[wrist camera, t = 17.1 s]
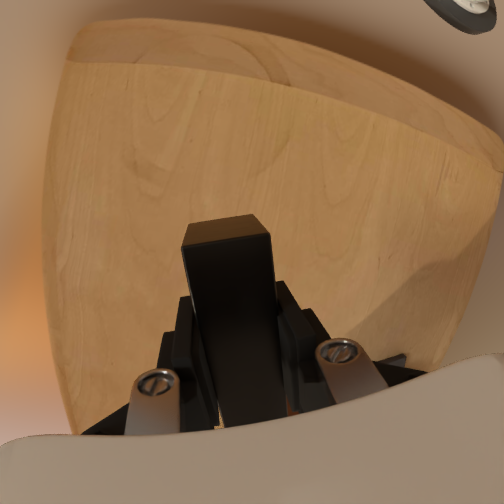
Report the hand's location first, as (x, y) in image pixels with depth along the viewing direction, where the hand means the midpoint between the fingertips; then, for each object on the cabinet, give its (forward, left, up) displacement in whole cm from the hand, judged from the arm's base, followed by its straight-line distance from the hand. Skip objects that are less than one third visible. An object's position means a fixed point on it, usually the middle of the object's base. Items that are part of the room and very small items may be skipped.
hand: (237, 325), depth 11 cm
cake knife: (+5, 0, -1) cm, 5 cm away
